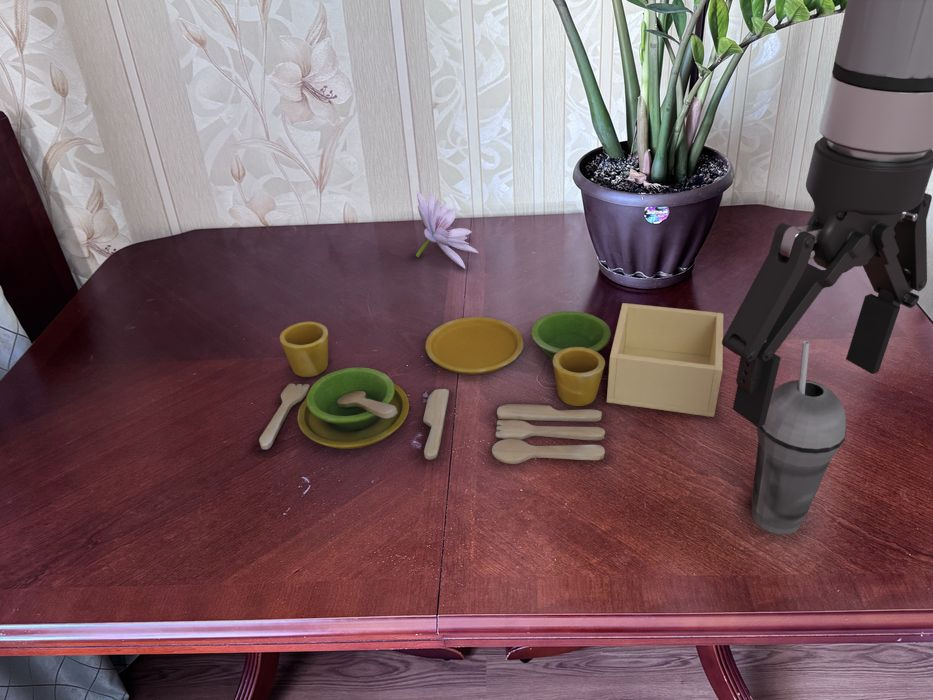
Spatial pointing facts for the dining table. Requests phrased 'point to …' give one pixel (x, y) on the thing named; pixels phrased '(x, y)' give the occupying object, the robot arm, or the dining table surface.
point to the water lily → (442, 228)
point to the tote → (666, 359)
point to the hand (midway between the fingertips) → (807, 390)
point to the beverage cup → (795, 450)
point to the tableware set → (461, 351)
